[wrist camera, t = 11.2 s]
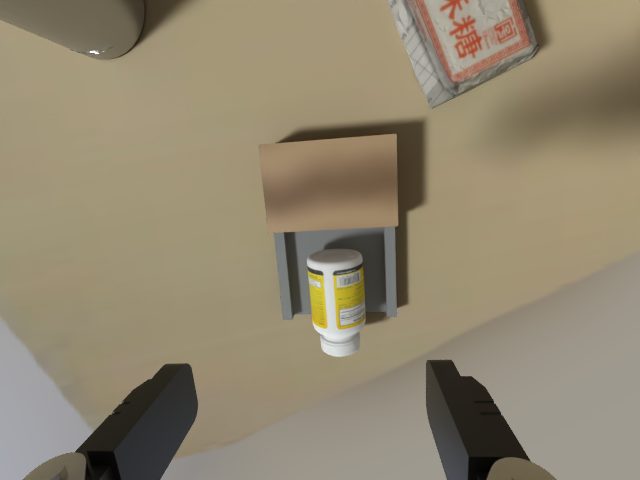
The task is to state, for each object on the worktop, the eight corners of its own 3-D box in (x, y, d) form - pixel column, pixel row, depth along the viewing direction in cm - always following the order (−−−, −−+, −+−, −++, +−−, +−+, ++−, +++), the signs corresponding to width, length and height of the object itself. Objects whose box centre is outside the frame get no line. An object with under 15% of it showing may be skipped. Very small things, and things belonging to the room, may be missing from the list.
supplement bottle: (314, 247, 34) (320, 331, 37) (299, 262, 29) (307, 359, 31) (365, 246, 33) (369, 334, 35) (359, 262, 28) (364, 363, 30)
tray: (277, 225, 34) (273, 228, 33) (392, 218, 33) (394, 221, 31) (286, 312, 37) (283, 319, 35) (394, 309, 35) (396, 316, 34)
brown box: (269, 147, 33) (258, 144, 29) (390, 137, 31) (396, 133, 28) (277, 225, 34) (268, 233, 30) (392, 218, 33) (398, 226, 29)
